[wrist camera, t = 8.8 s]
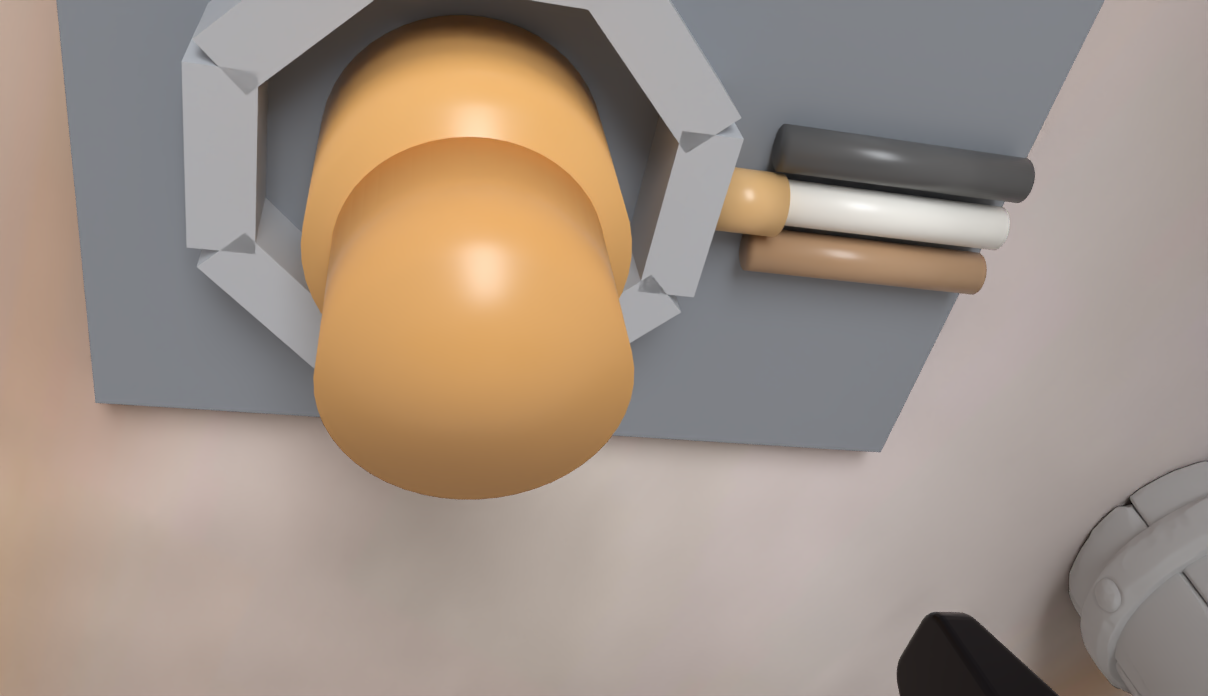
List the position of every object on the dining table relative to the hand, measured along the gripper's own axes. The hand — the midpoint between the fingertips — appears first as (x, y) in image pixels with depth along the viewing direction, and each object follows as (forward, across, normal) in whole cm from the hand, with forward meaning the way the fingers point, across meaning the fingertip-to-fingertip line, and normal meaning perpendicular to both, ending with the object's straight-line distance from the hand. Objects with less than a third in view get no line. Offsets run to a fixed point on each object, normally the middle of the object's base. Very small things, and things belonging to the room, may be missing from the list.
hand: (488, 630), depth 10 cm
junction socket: (+10, -2, 0) cm, 10 cm away
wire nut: (+10, 0, 0) cm, 10 cm away
